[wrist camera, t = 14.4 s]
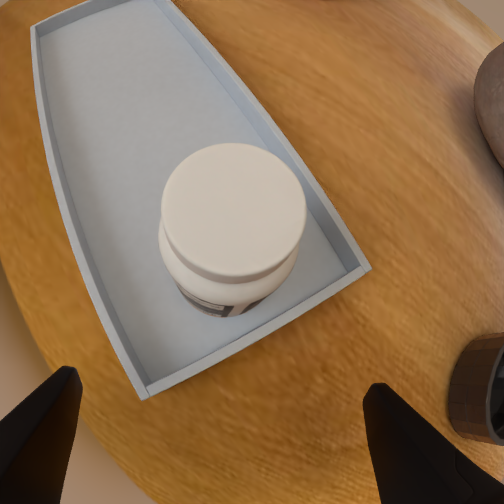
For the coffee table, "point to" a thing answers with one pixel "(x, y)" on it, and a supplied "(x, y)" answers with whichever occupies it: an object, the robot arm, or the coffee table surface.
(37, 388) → the robot arm
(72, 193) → the serving dish
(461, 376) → the charcoal bowl
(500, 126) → the clay pot
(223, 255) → the pill bottle
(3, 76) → the coffee table surface
